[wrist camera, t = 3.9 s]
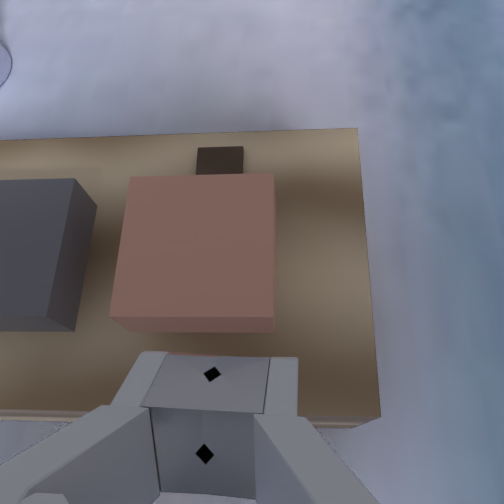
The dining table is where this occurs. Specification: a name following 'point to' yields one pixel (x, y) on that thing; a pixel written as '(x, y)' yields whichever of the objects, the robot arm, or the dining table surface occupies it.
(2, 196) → the charcoal key
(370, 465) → the dining table surface
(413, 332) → the dining table surface
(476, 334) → the dining table surface
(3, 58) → the beer glass
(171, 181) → the terracotta key
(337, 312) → the wooden key base
